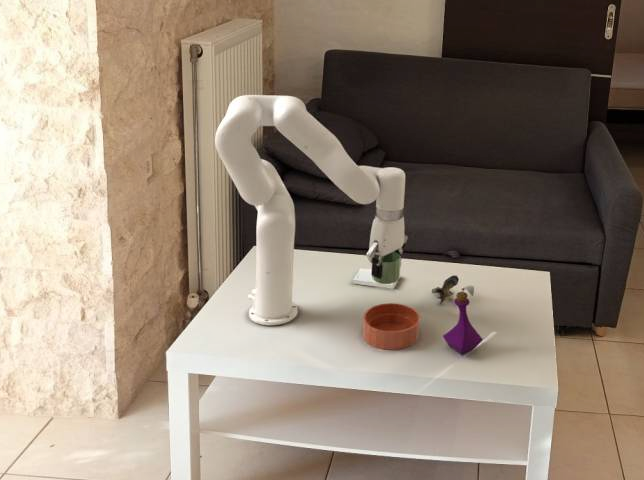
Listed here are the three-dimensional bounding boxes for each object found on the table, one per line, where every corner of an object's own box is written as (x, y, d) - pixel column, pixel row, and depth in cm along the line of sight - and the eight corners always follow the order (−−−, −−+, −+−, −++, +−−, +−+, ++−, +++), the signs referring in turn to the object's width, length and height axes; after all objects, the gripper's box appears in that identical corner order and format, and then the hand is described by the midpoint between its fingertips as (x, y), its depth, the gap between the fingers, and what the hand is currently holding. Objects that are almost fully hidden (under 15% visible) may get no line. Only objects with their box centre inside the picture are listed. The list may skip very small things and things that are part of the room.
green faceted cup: (366, 278, 203) (367, 257, 201) (384, 269, 209) (385, 248, 208) (387, 287, 199) (388, 265, 198) (404, 277, 205) (406, 256, 204)
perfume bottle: (441, 347, 189) (446, 284, 185) (462, 338, 194) (468, 276, 190) (460, 360, 184) (466, 295, 180) (482, 351, 189) (488, 287, 185)
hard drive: (352, 279, 217) (393, 284, 216) (361, 267, 225) (400, 272, 224) (352, 284, 218) (393, 289, 217) (360, 272, 226) (399, 277, 224)
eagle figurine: (460, 303, 210) (464, 284, 218) (447, 285, 208) (452, 266, 216) (437, 312, 212) (442, 293, 220) (425, 294, 210) (430, 275, 218)
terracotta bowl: (350, 337, 189) (351, 318, 188) (387, 315, 202) (388, 297, 201) (394, 358, 182) (395, 338, 181) (429, 334, 195) (430, 315, 193)
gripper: (399, 200, 209) (395, 257, 213) (357, 217, 194) (354, 278, 198) (419, 207, 205) (416, 265, 209) (379, 225, 191) (375, 287, 194)
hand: (386, 271), depth 204 cm, fingers closed on green faceted cup, 7 cm apart
